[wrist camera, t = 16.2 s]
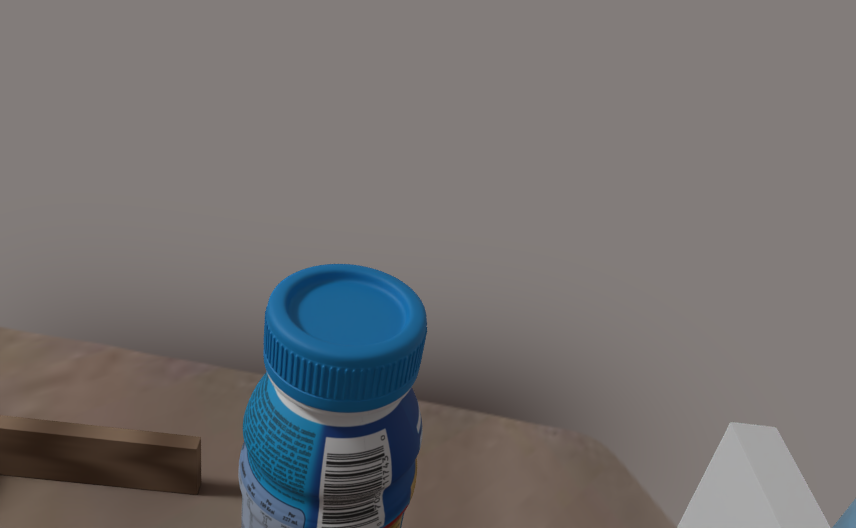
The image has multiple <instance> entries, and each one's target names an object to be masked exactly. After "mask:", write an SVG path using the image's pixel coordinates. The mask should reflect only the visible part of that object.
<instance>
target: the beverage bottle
mask: <svg viewBox="0 0 856 528" xmlns="http://www.w3.org/2000/svg"><path fill="white" fill-rule="evenodd" d="M426 326H427V322H426V312H425V308H424V306H423V303H422V301H421V300H420V298H419V297H418V295H417V294H416V293H415V292H414V291H413V290H412V289H411V288H410V287H409V286H407V285H406V284H405V283H403V282H402V281H400V280H399V279H397V278H395V277H393V276H391V275H389V274H387V273H384V272H382V271H379V270H376V269H372V268H368V267H363V266H357V265H350V264H327V265H319V266H314V267H310V268H306V269H303V270H300V271H298V272H296V273H294V274H292V275H290V276H288V277H287V278H285V279H284V280H283V281H281V282H280V283H279V284H278V285H277V286H276V288H275V289H274V290H273V292H272V294H271V296H270V298H269V301H268V306H267V307H266V311H265V326H264V363H265V367H266V370H267V372H266V373H265V375H264V376H263V377H262V378H261V380H260V381H259V383H258V384H257V386H256V388H255V389H254V391H253V393H252V395H251V397H250V400H249V402H248V405H247V408H246V411H245V415H244V420H243V436H244V443H243V446H242V450H241V454H240V460H239V484H240V489H241V492H242V528H401V525H402V521H403V516H404V512H405V510H406V508H407V507H408V505H409V503H410V501H411V498H412V495H413V492H414V488H415V483H416V476H417V459H416V457H417V455H418V453H419V450H420V447H421V442H422V419H421V413H420V409H419V405H418V401H417V399H416V396H415V394H414V391H413V389H412V385H413V384H414V382H415V380H416V378H417V375H418V371H419V367H420V364H421V359H422V353H423V349H424V344H425V339H426V333H427V327H426Z"/></svg>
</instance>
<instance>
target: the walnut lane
mask: <svg viewBox="0 0 856 528" xmlns="http://www.w3.org/2000/svg"><path fill="white" fill-rule="evenodd" d="M0 475H10V476H19V477H29V478H39V479H49V480H58V481H68V482H78V483H88V484H97V485H107V486H117V487H126V488H136V489H146V490H156V491H165V492H175V493H185V494H195V495H197V493H198V490H199V487H200V484H201V437H195V436H186V435H177V434H168V433H159V432H149V431H140V430H131V429H122V428H113V427H104V426H94V425H85V424H76V423H67V422H58V421H49V420H39V419H30V418H21V417H12V416H3V415H0Z"/></svg>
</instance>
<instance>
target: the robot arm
mask: <svg viewBox="0 0 856 528" xmlns="http://www.w3.org/2000/svg"><path fill="white" fill-rule="evenodd" d="M677 528H830V526H829V524H828V522H827V520H826V518H825V517H824V515H823V513H822V511H821V510H820V507H819V506H818V504H817V502H816V500H815V498H814V496H813V495H812V493H811V491H810V489H809V487H808V485H807V483H806V482H805V480H804V478H803V476H802V474H801V473H800V471H799V469H798V467H797V465H796V463H795V461H794V460H793V458H792V456H791V454H790V452H789V451H788V449H787V447H786V445H785V443H784V442H783V439H782V438H781V436H780V434H779V432H778V430H777V428H776V427H768V426H760V425H752V424H743V423H734V422H730V424H729V426H728V428H727V430H726V432H725V434H724V437H723V438H722V440H721V442H720V444H719V446H718V448H717V450H716V452H715V454H714V456H713V458H712V460H711V462H710V464H709V466H708V468H707V470H706V472H705V474H704V476H703V478H702V480H701V482H700V484H699V486H698V487H697V489H696V492H695V493H694V495H693V497H692V499H691V501H690V503H689V505H688V507H687V509H686V511H685V513H684V515H683V517H682V519H681V521H680V523H679V525H678V527H677ZM832 528H856V499H855V500H854V501H853V502H852V504H851V505H850V506H849V507H848V509H847V510H846V511H845V513H844V514H843V515H842V516H841V517H840V519H839V520H838V521H837V522H836V524H835V525H834V526H833V527H832Z"/></svg>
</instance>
